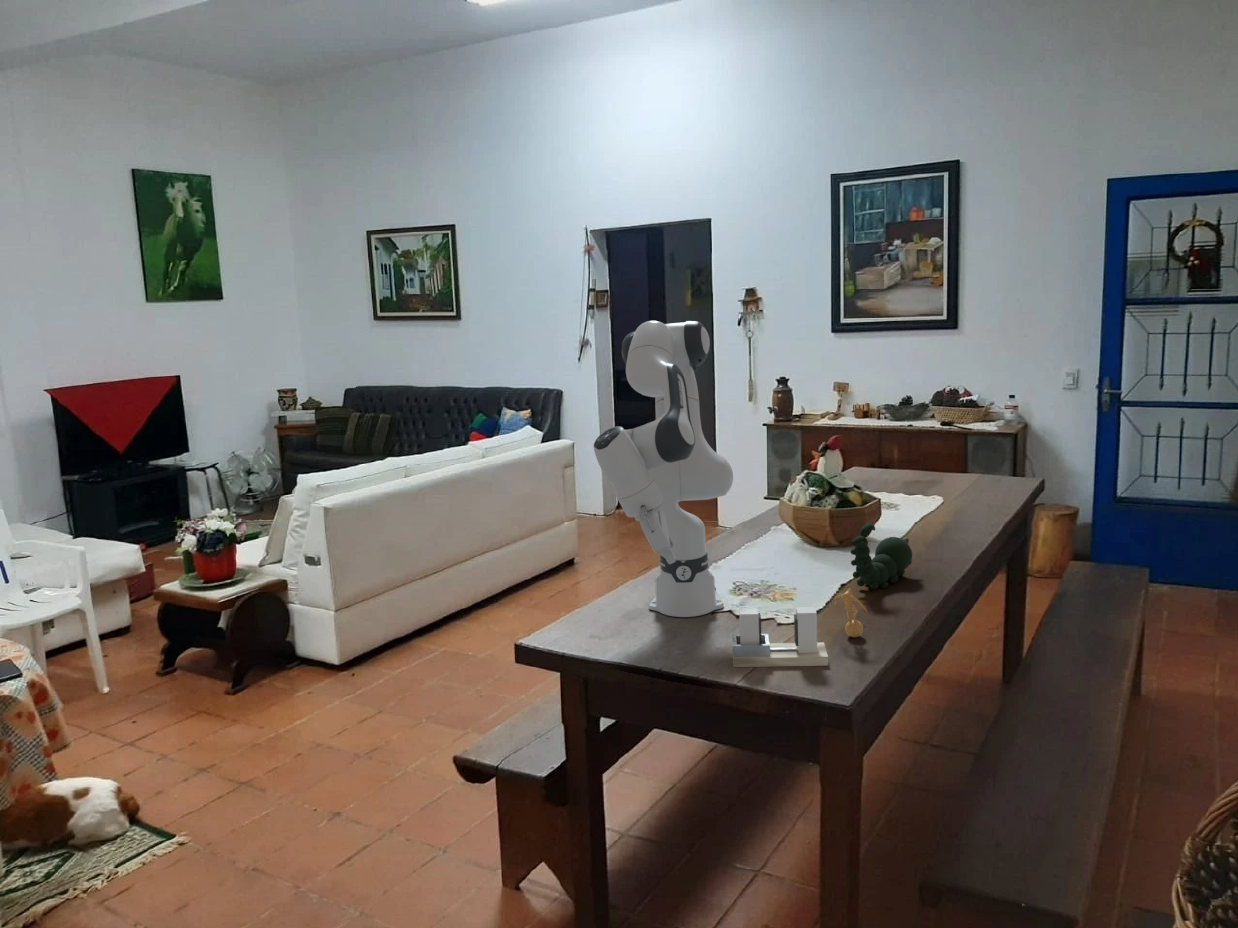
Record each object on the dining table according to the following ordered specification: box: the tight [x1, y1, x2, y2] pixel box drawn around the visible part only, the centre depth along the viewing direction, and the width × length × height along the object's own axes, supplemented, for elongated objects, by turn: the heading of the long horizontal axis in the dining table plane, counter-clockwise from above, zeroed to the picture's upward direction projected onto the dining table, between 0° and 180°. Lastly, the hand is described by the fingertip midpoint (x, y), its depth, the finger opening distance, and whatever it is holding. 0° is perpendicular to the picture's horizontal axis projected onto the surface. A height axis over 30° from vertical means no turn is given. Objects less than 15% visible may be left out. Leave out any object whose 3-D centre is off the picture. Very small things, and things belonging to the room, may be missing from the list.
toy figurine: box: [850, 523, 913, 590], centre depth 252 cm, size 9×19×25 cm
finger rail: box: [731, 606, 829, 668], centre depth 208 cm, size 8×20×11 cm, turn 85°
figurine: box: [833, 588, 868, 638], centre depth 217 cm, size 8×6×12 cm
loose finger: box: [738, 607, 762, 645], centre depth 208 cm, size 4×4×9 cm
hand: (671, 554), depth 207 cm, fingers open, 8 cm apart
